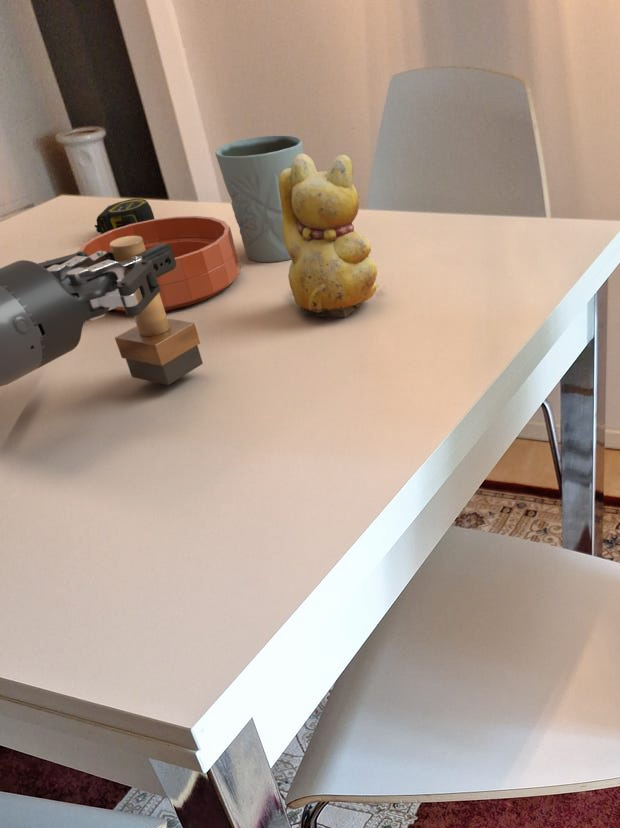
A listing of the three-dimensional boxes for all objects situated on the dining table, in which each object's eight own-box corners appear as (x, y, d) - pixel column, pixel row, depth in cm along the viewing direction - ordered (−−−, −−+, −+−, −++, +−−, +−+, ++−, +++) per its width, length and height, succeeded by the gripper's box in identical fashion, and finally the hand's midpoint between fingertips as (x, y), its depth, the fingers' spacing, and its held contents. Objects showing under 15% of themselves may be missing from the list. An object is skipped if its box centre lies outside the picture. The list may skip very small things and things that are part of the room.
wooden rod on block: (128, 378, 87) (82, 248, 79) (166, 355, 91) (126, 228, 83) (168, 386, 85) (125, 253, 77) (206, 363, 88) (168, 233, 81)
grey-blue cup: (226, 263, 114) (199, 157, 106) (264, 235, 121) (241, 134, 113) (300, 264, 111) (277, 155, 103) (334, 236, 118) (315, 132, 110)
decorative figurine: (389, 295, 101) (367, 144, 91) (369, 325, 95) (342, 167, 85) (306, 296, 103) (275, 148, 93) (281, 326, 97) (245, 172, 87)
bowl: (80, 325, 102) (61, 275, 98) (109, 272, 115) (93, 226, 111) (235, 305, 102) (221, 255, 99) (246, 255, 115) (235, 208, 112)
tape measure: (117, 227, 130) (107, 199, 127) (164, 223, 129) (155, 195, 127) (100, 244, 124) (90, 214, 122) (149, 239, 124) (140, 210, 121)
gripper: (-34, 359, 78) (116, 285, 89) (81, 385, 72) (226, 302, 83) (-76, 269, 73) (88, 203, 84) (43, 289, 67) (203, 215, 78)
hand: (156, 253), depth 83 cm, fingers closed on wooden rod on block, 3 cm apart
